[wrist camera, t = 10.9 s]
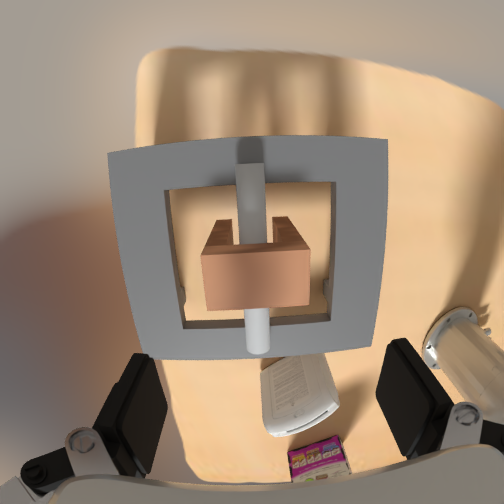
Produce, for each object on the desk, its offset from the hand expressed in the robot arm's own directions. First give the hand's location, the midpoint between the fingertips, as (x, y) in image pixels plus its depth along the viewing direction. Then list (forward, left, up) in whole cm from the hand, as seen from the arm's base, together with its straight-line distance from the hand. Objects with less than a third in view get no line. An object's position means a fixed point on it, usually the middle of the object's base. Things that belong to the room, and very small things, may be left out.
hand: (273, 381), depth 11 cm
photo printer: (-5, +21, -26) cm, 34 cm away
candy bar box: (-11, +46, -26) cm, 54 cm away
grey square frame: (0, 0, -26) cm, 26 cm away
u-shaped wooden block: (0, 0, -20) cm, 20 cm away
